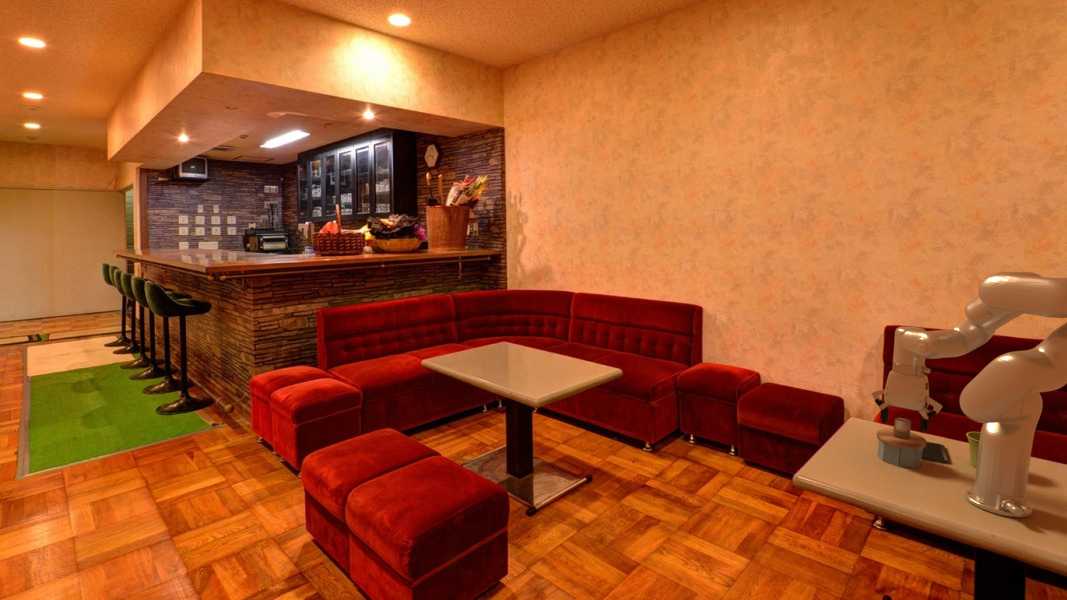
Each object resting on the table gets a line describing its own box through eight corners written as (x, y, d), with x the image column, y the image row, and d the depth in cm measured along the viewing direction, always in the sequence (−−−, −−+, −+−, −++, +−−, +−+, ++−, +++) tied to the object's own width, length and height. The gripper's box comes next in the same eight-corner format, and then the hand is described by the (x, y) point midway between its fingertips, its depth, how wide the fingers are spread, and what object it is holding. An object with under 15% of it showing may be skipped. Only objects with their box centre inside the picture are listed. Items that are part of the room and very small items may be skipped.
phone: (944, 444, 167) (949, 461, 155) (943, 448, 168) (949, 465, 155) (913, 439, 172) (916, 455, 159) (913, 442, 172) (916, 459, 159)
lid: (934, 450, 150) (936, 429, 149) (887, 446, 153) (889, 426, 152) (913, 434, 162) (915, 414, 161) (870, 431, 164) (871, 412, 163)
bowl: (926, 468, 152) (928, 448, 151) (887, 465, 154) (889, 445, 153) (909, 454, 162) (911, 435, 161) (873, 451, 164) (874, 432, 163)
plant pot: (1013, 470, 151) (1016, 441, 150) (992, 476, 148) (996, 446, 146) (975, 457, 160) (979, 430, 158) (955, 462, 156) (958, 434, 155)
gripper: (948, 373, 150) (943, 431, 152) (879, 362, 163) (875, 416, 165) (940, 377, 145) (935, 438, 147) (869, 365, 159) (865, 421, 161)
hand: (903, 426), depth 156 cm, fingers open, 9 cm apart
